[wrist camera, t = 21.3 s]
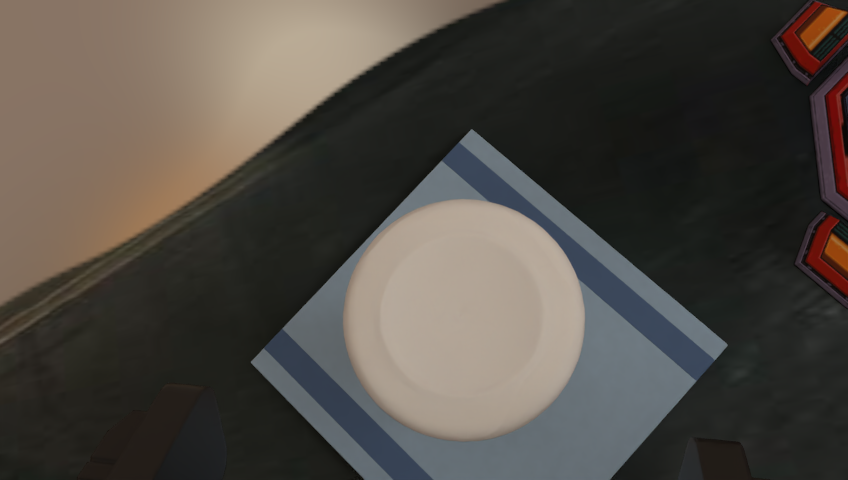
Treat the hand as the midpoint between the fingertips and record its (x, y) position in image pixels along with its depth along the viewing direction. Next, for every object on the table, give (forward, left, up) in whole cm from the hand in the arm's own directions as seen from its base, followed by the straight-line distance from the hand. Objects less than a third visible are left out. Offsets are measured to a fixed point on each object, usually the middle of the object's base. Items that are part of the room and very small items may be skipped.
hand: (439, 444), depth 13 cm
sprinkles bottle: (+1, -2, -14) cm, 14 cm away
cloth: (+1, -2, -14) cm, 15 cm away
